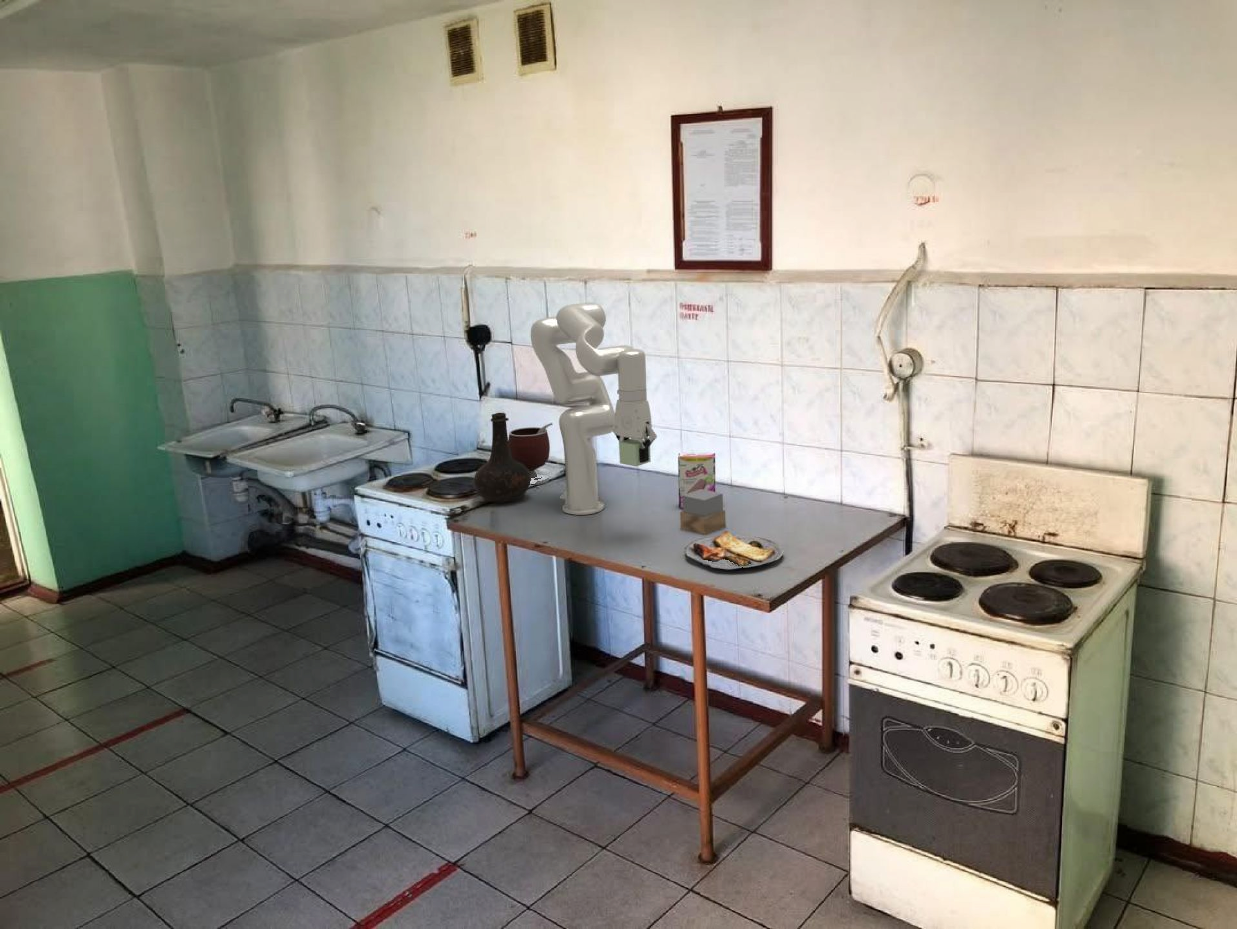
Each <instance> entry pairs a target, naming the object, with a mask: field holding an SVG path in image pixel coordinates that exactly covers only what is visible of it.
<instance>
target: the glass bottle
mask: <svg viewBox="0 0 1237 929" xmlns="http://www.w3.org/2000/svg"><path fill="white" fill-rule="evenodd" d="M506 415H507V414H506V413H505V412H496V413H492V414H491V419H490V422H491V424H492V425H491V426H492V436H491V437H492V439H491V441H492V442H491V450H490V452H491V453H490V457H489V459H488V461H487V462H486V463H484V464H482V465H481V466H480V467H479V468H478V469H477V471H476V473H475V474H474V477H473V484H474V489H475V490H476V493H477V494H478V495H479V496H480V497H481V498H482V499H484V501H485V500H486V501H488V502H490V503H497V504H498V503H499V504H500V503H510V502H515V501H518V500H520V499H521V498H522V497H523V496H524V495H525V494H526V492H527V491H528V489H529V488H530V486H531V485H530V481H531V476H530V472H529V470H528V469H527V468H526V466H524V465H523V464H522V463H520V462H517V461H515V460H514V459H513V458H512V456H511V452H510V448H509V442H508V440H509V434H508V429H507V421H509V417H506Z"/></svg>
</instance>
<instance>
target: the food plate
mask: <svg viewBox="0 0 1237 929" xmlns="http://www.w3.org/2000/svg"><path fill="white" fill-rule="evenodd" d="M684 553H685V557H688V558H690V559H692V560H694V561H696V562H698V563H701V564H703V565H702V566H708V567H710V568H714V569H723V570H736V569H742V567H743V568H751V567H757V566H759V567H761V565H766V564H770V563H771V562H774V561H778V560H779V559H780V558H781V557H782V555H783V554H784V549H783V548H782V547H781V545H779V544H778V543H777V542H775V541H772V540H769V539H766V538H762V537H758V536H754V535H745V534H733V533H732V534H731V533H730V531H724V532H723V533H721V534H718V535H711V536H708V537H702V538H698V539H696V540H692V542H690V543H688V545H686V546H685V547H684ZM724 559H725V560H729V561H730V562H733V563H734V564H737V565H738V566H737V565H734V564H733V563H732V564H733V565H734V566H733V565H732V566H731V565H730V566H727V565H726V566H724V565H719V566H717V565H716V564H715V563H714V564H715V565H716V566H715V565H714V564H713V563H712V564H711V565H710V564H709V563H707V562H705V561H703V560H708V561H712V562H718V561H720V560H724ZM727 562H728V561H727ZM753 562H754V563H753ZM759 562H760V563H759ZM749 564H751V565H749Z"/></svg>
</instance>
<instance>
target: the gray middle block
mask: <svg viewBox="0 0 1237 929" xmlns="http://www.w3.org/2000/svg"><path fill="white" fill-rule="evenodd" d="M723 496H724V495H723V493H722V492H717V491H716V492H713V491H708V490H703V489H699V490H696V491H694V492H691V493H688V494H685V495H682V501H683V508H682V512H683V513H687V514H691V515H696V516H700V517H704V518H705V517H708V516H710V515H713V514H715V513H718V512H721V511H723V510H724V500H723V498H724V497H723Z"/></svg>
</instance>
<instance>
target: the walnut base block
mask: <svg viewBox="0 0 1237 929" xmlns="http://www.w3.org/2000/svg"><path fill="white" fill-rule="evenodd" d="M679 515H680V516H679V519H680V530H683V529H684V530H683V531H688V532H691V531H692V533H696V534H700V535H704V536H706V535H707V536H708V535H710V534H711V533H714V532H716V531H719V530H721V529H724V528H726V523H727V522H726V519H727V518H726V509H725V510H724V509H723V511H721V512H718V513H715V514H713V515H710V516H708V517H705V518H704V517H700V516H696V515H691V514H687V513H683V511H681V512H680V513H679Z"/></svg>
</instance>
